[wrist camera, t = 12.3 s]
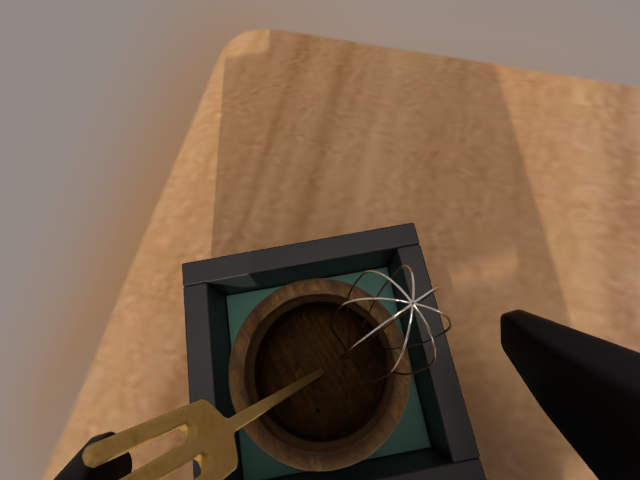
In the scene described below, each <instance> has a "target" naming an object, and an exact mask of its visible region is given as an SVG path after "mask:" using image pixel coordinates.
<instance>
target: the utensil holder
mask: <svg viewBox="0 0 640 480" xmlns="http://www.w3.org/2000/svg"><path fill="white" fill-rule="evenodd" d="M403 267H407V268H408V269H409V271H410V273H411V278H412V300H411V299H410V297H409V296H408V295H407V294H406V293H405V292H404V290H403V289H402V288H401V287H400V286H399V285H398V284H397V283H395V282H394V281H393V280H392V278H393V277H394V276H395V274H396V273H397V272H398V271H399V270H401V269H402V268H403ZM369 272H372V273H377V274H379V275H381V276H383V277H385V278H386V279H388V280H387V281H386V283H385V284H384V285H383V287H382V288H381V290H380V291H379V293H378V294H377V296H376V297H373V296H372V295H370V294H369V293H367V292H366V291H364V290H362V289H361V288H359V287H356V286H355V285H356V283H357V282H358V281H359V280H360V278H361V277H362V276H363V275H364V274H365V273H369ZM389 281H391V282H392V283H393V284H394V285H395V286H396V287H397V288H398V289H399V290H400V291H401V292H402V293H403V294H404V295H405V296H406V298H407V299H408V300H409V301H410V302H409V301H404V300H399V299H392V298H380V297H378V296H379V294H380V293H381V291H382V290H383V288H384V287H385V286H386V284H387V283H388V282H389ZM439 287H440V286H439V285H438V286H436V287H434V288H433V289H431V290H430V291H428V292H427V293H425V294H424V295H422V296H421V297H419V298H418V299H416V300H415V301H414V296H415V283H414V275H413V272H412V269H411V268H410V267H409V266H408V265H403V266H401V267H400V268H399V269H398V270H397V271H396V272H395V273H394V274H393V275H392V276H391V277H390V278H389V277H388V276H386V275H384V274H383V273H380V272H378V271H374V270H368V271H365V272H363V273H362V274H361V275H360V276H359V278H358V279H357V280H356V281H355V283H354V284H353V285H352V284H349V283H346V282H343V281H339V280H334V279H326V278H313V279H305V280H300V281H297V282H293V283H290V284H288V285H285V286H283V287H281V288H279V289H277V290H275V291H274V292H272V293H271V294H269V295H268V296H267V297H265V298H264V299H263V300H262V301H261V302H259V303H258V304H257V305H256V306H255V308H254V309H253V310H252V311H251V312H250V313H249V315H248V316H247V318H246V319H245V320H244V322H243V324H242V325H241V327H240V329H239V331H238V333H237V336H236V338H235V341H234V344H233V347H232V351H231V356H230V361H229V388H230V394H231V399H232V403H233V406H234V409H235V411H236V415H234V416H232V417H230V418H225V417H224V416H223V415H222V414H221V413H220V412H219V411H218V410H217V409H216V408H215V407H213V406H212V405H211V404H210V403H209V402H208V401H206V400H203V399H201V400H199V401H196V402H194V403H191V404H189V405H186V406H184V407H181V408H179V409H176V410H174V411H171V412H169V413H166V414H164V415H162V416H159V417H157V418H154V419H152V420H149V421H147V422H144V423H142V424H139V425H137V426H134V427H132V428H130V429H127V430H125V431H122V432H120V433H117V434H115V435H112V436H110V437H107V438H105V439H103V440H100V441H98V442H95V443H93V444H90V445H89V446H87V447H86V448H85V450H84V452H83V454H82V459H83V462H84V464H85V465H86V466H88V467H91V468H95V467H97V466H99V465H101V464H103V463H106V462H108V461H110V460H112V459H114V458H116V457H118V456H121V455H123V454H125V453H127V452H129V451H131V450H133V449H136V448H138V447H140V446H142V445H144V444H146V443H148V442H151V441H153V440H155V439H157V438H159V437H161V436H163V435H165V434H168V433H170V432H172V431H174V430H176V429H180V430H182V431H183V432H184V434H185V436H186V439H187V440H186V442H185V443H184V444H182V445H180V446H178V447H176V448H175V449H173V450H171V451H169V452H168V453H166V454H164V455H162V456H160V457H159V458H157V459H155V460H153V461H151V462H150V463H148V464H146V465H144V466H143V467H141V468H139V469H137V470H135V471H134V472H132V473H130V474H128V475H126V476H125V477H123V478H121V479H119V480H161V479H163V478H164V477H166V476H167V475H169V474H170V473H172V472H173V471H175V470H177V469H178V468H180V467H181V466H183V465H184V464H186V463H187V462H189V461H191V460H192V459H194V460H196V461H197V462H198V463H199V465H200V468H201V475H200V476H198V477H197V478H196V479H194V480H223V479H224V478H226V477H227V476H228V475H229V474H230V473H231V472H233V471H234V470H235V469H236V468H237V465H238V456H237V450H236V444H235V439H234V433H235V431H237V430H239V429H240V428H242V427H243V428H244V429H245V431H246V432H247V434H248V435H249V436H250V438H251V439H252V440H253V441H254V442H255V443H256V444H257V445H258V446H259V447H260V448H261V449H262V450H263V451H264V452H266V453H267V454H268V455H270V456H271V457H273V458H274V459H276V460H278V461H280V462H282V463H284V464H286V465H289V466H291V467H294V468H298V469H302V470H308V471H332V470H337V469H342V468H345V467H348V466H351V465H353V464H356V463H358V462H360V461H362V460H363V459H365V458H367V457H368V456H370V455H371V454H372V453H374V452H375V451H376V450H377V449H378V448H380V447H381V446H382V445H383V444H384V443H385V442H386V440H387V439H388V438H389V437H390V435H391V434H392V433H393V431H394V430H395V428H396V427H397V425H398V423H399V421H400V419H401V417H402V415H403V413H404V410H405V407H406V404H407V401H408V397H409V391H410V383H411V375H412V374H415V373H418V372H420V371H423V370H425V369H427V368H429V367H430V366H432V365H433V364H434V362H435V358H436V346H435V341H434V339H435V338H437V337H438V336H440V335H442V334H444V333H445V332H447V331H448V330H450V329H451V327H452V321H451V319H450V318H449V317H448V316H447V315H446V314H444V313H442V312H441V311H439V310H436V309H434V308H431V307H428V306H425V305H422V304H419V303H420V302H422V301H423V300H424V299H426V298H427V297H428V296H430V295H431V294H432V293H433V292H435V291H436V290H437V289H438V288H439ZM378 300H387V301H395V302H402V303H407V304H409V305H408V306H406V307H405V308H403V309H402V310H400V311H399V312H398V313H396V314H395V315H393V316H392V315H391V314H390V313H389V312H388V310H387V309H386V308H385V307H384V306H383V305H382V304H381V303H380V302H379V301H378ZM419 300H420V301H419ZM418 301H419V302H418ZM416 302H417V303H416ZM412 303H413V304H412ZM416 306H419V307H423V308H426V309H430V310H432V311H435V312H437V313H439V314H441V315H443V316H444V317H446V318H447V319H448V321H449V323H450V326H449V327H448V328H447V329H446V330H444V331H443V332H441V333H439V334H438V335H436V336H434V337H433V335H432V332H431V330H430V328H429V326H428V324H427V322H426V320H425V319H424V317H423V315H422V314H421V312H420V311H419V309H418V308H417V307H416ZM409 307H411V308H410V309H408V308H409ZM414 308H415V310H416V311H417V312H418V314H419V315H420V317H421V319H422V320H423V322H424V324H425V326H426V328H427V330H428V332H429V334H430V337H431V338H430V339H428V340H426V341H423V342H420V343H417V344H413V345H408V346H406V344H407V341H408V337H409V333H410V328H411V323H412V317H413V309H414ZM406 309H408V310H407V311H406V312H404V311H405V310H406ZM410 310H411V312H410V319H409V325H408V330H407V334H406V338H405V340H404V337H403V334H402V332H401V330H400V328H399V326H398V325H397V323H396V321H397V320H398V319H399V318H401V317H402V316H403V315H405V314H406V313H407V312H409V311H410ZM402 312H404V313H403V314H402V315H400V316H399V317H398V318H396V319H395V320H394V318H395V317H396V316H398V315H399V314H401V313H402ZM431 340H432V344H433V350H434V354H433V360H432V362H431V363H430V364H429V365H427V366H426V367H424V368H421V369H419V370H417V371H414V372H411V367H410V358H409V353H408V349H407V347H412V346H417V345H420V344H423V343H426V342H429V341H431Z"/></svg>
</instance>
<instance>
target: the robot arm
mask: <svg viewBox="0 0 640 480" xmlns="http://www.w3.org/2000/svg"><path fill="white" fill-rule="evenodd" d="M500 321H501V344H502V347H503V349H504V351H505V353H506V354H507V356H508V358H509V359H510V361H511V362H512V364H513V365H514V367H515V368H516V370H517V371H518V373H519V374H520V376H521V377H522V379H523V380H524V382H525V383H526V385H527V387H528V388H529V390H530V391H531V393H532V394H533V396H534V397H535V399H536V400H537V402H538V403H539V405H540V406H541V408H542V409H543V410H544V412H545V413H546V414H547V416H548V417H549V418H550V419H551V421H552V422H553V423H554V424H555V426H556V427H557V428H558V429H559V431H560V432H561V433H562V434H563V436H564V437H565V438H566V439H567V441H568V442H569V443H570V444H571V446H572V447H573V448H574V449H575V451H576V452H577V453H578V454H579V456H580V457H581V458H582V459H583V461H584V462H585V463H586V464H587V465H588V467H589V468H590V469H591V470H592V472H593V473H594V474H595V475H596V477H597V478H598V479H599V480H640V353H639V352H636V351H633V350H630V349H628V348H625V347H622V346H619V345H617V344H614V343H611V342H608V341H606V340H603V339H600V338H597V337H594V336H592V335H589V334H586V333H583V332H581V331H578V330H575V329H572V328H570V327H567V326H564V325H561V324H559V323H556V322H553V321H550V320H548V319H545V318H542V317H539V316H536V315H534V314H531V313H528V312H525V311H523V310H514V311H511V312H507V313H504V314H503V315H502V316H501V320H500ZM115 434H116V433H114V432H107V433H104V434H101V435H97V436H95V437H93V438H91V439H90V440H89V441H88V442H87V443H86V445H85V446H84V447H83V448H82V449H81V450H80V451H79V452H78V453H77V454H76V455H75V457H74V458H73V459H72V460H71V461H70V462H69V463H68V464H67V465H66V466H65V468H64V469H63V470H62V471H61V472H60V473H59V474H58V475H57V476H56V477H55V479H54V480H119V479H121V478H123V477H125V476H126V475H128V474H130V473H131V471H132V459H131V455H130V453H129V452H127V453H125V454H123V455H121V456H118V457H116V458H114V459H112V460H110V461H108V462H106V463H103V464H101V465H99V466H97V467H95V468H91V467H88V466H86V465H85V464H84V462H83V459H82V454H83V452H84V450H85V448H86V447H87V446H89V445H90V444H93V443H95V442H98V441H100V440H103V439H105V438H107V437H110V436H112V435H115Z"/></svg>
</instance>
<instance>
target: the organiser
mask: <svg viewBox="0 0 640 480" xmlns="http://www.w3.org/2000/svg"><path fill="white" fill-rule="evenodd" d="M403 265H408V266H409V267H410V268H411V269H412V272H413V275H414V283H415V296H414V301H415V300H416V299H418V298H419V297H421V296H422V295H424V294H425V293H427V292H428V291H430V290H431V289H432V285H431V282H430V278H429V275H428V271H427V268H426V264H425V261H424V257H423V254H422V250H421V247H420V245H419V240H418V236H417V233H416V229H415V226H414V223H408V224H402V225H397V226H391V227H386V228H380V229H374V230H369V231H363V232H358V233H352V234H346V235H341V236H335V237H329V238H324V239H318V240H313V241H307V242H301V243H296V244H290V245H285V246H279V247H273V248H268V249H262V250H257V251H251V252H245V253H240V254H234V255H229V256H223V257H217V258H212V259H206V260H201V261H195V262H189V263H184V264H182V272H183V285H184V286H185V287H184V307H185V325H186V344H187V362H188V381H189V399H190V404H191V403H194V402H196V401H199V400H201V399H203V400H206V401H208V402H209V403H210V404H211V405H212V406H213V407H215V408H216V409H217V410H218V411H219V412H220V413H221V414H222V415H223V416H224V417H225V418H230V417H232V416H234V415H236V411H235V409H234V406H233V403H232V399H231V394H230V388H229V361H230V356H231V351H232V347H233V344H234V341H235V338H236V336H237V333H238V331H239V329H240V327H241V325H242V324H243V322H244V320H245V319H246V318H247V316H248V315H249V313H250V312H251V311H252V310H253V309H254V308H255V306H256V305H257V304H258V303H259V302H261V301H262V300H263V299H264V298H265V297H267V296H268V295H269V294H271V293H272V292H274V291H275V290H277V289H279V288H281V287H283V286H285V285H288V284H290V283H293V282H297V281H300V280H305V279H313V278H326V279H334V280H339V281H343V282H346V283H349V284H352V285H353V284H354V283H355V281H356V280H357V279H358V278H359V276H360V275H361V274H362V273H363V272H365V271H368V270H374V271H378V272H380V273H383V274H384V275H386V276H388V277H389V278H390V277H391V276H392V275H393V274H394V273H395V272H396V271H397V270H398V269H399V268H400V267H401V266H403ZM387 280H388V279H386V278H385V277H383V276H381V275H379V274H377V273H372V272H369V273H365V274H364V275H363V276H362V277H361V278H360V280H359V281H358V282H357V283H356V285H355V286H356V287H359V288H361V289H362V290H364V291H366V292H367V293H369V294H370V295H372V296H373V297H376V296H377V294H378V293H379V291H380V290H381V288H382V287H383V285H384V284H385V283H386V281H387ZM392 280H393V281H394V282H395V283H397V284H398V285H399V286H400V287H401V288H402V289H403V290H404V292H405V293H406V294H407V295H408V296H409V297H410V299H411V300H412V278H411V273H410V271H409V269H408V268H407V267H403V268H402V269H401V270H399V271H398V272H397V273H396V274H395V276H394V277H393V278H392ZM378 297H380V298H392V299H399V300H404V301H409V300H408V299H407V298H406V296H405V295H404V294H403V293H402V292H401V291H400V290H399V289H398V288H397V287H396V286H395V285H394V284H393V283H392V282H391V281H389V282H388V283H387V284H386V286H385V287H384V288H383V290H382V291H381V293H380V294H379V296H378ZM378 301H379V302H380V303H381V304H382V305H383V306H384V307H385V308H386V309H387V310H388V312H389V313H390V314H391V315H392V316H393V315H395V314H396V313H398V312H399V311H400V310H402V309H403V308H405V307H406V306H408V305H409V304H407V303H402V302H395V301H387V300H378ZM419 301H420V300H419ZM419 301H418V302H419ZM409 302H410V301H409ZM416 303H417V302H416ZM412 304H413V303H412ZM419 304H422V305H425V306H428V307H431V308H434V309H436V310H438V307H437V303H436V300H435V296H434V293H432V294H431V295H430V296H428V297H427V298H426V299H424V300H423V301H422V302H420V303H419ZM416 307H417V308H418V309H419V311H420V312H421V314H422V315H423V317H424V319H425V320H426V322H427V324H428V326H429V328H430V330H431V332H432V335H433V337H434V336H436V335H438V334H439V333H441V332H443V331H444V328H443V324H442V321H441V317H440V314H439V313H437V312H435V311H432V310H430V309H426V308H423V307H419V306H416ZM410 308H411V307H409V308H408V309H410ZM408 309H406V310H405V311H404V312H406V311H407V310H408ZM404 312H402V313H401V314H399V315H398V316H396V317H395V318H394V320H395V319H396V318H398V317H399V316H400V315H402V314H403V313H404ZM410 312H411V310H410V311H409V312H407V313H406V314H405V315H403V316H402V317H401V318H399V319H398V320H397V321H396V323H397V325H398V326H399V328H400V330H401V332H402V334H403V337H404V340H405V338H406V334H407V330H408V325H409V319H410ZM430 338H431V337H430V334H429V332H428V330H427V328H426V326H425V324H424V322H423V320H422V319H421V317H420V315H419V314H418V312H417V311H416V310H415V308H414V309H413V317H412V323H411V328H410V333H409V337H408V341H407V344H406V346H408V345H413V344H417V343H420V342H423V341H426V340H428V339H430ZM434 341H435V346H436V358H435V362H434V364H433V365H432V366H430V367H429V368H427V369H425V370H423V371H420V372H418V373H415V374H412V375H411V383H410V391H409V397H408V401H407V404H406V407H405V410H404V413H403V415H402V417H401V419H400V421H399V423H398V425H397V427H396V428H395V430H394V431H393V433H392V434H391V435H390V437H389V438H388V439H387V440H386V442H385V443H384V444H383V445H382V446H381V447H380V448H378V449H377V450H376V451H375V452H374V453H372V454H371V455H370V456H368V457H367V458H365V459H363V460H362V461H360V462H358V463H356V464H353V465H351V466H348V467H345V468H342V469H337V470H332V471H308V470H302V469H298V468H294V467H291V466H289V465H286V464H284V463H282V462H280V461H278V460H276V459H274V458H273V457H271V456H270V455H268V454H267V453H266V452H264V451H263V450H262V449H261V448H260V447H259V446H258V445H257V444H256V443H255V442H254V441H253V440H252V439H251V438H250V436H249V435H248V434H247V432H246V431H245V429H244V428H243V427H242V428H240V429H239V430H237V431H235V433H234V439H235V444H236V450H237V456H238V465H237V468H236V469H235V470H234V471H233V472H231V473H230V474H229V475H228V476H227V477H226V478H224V479H223V480H486V477H485V473H484V470H483V466H482V463H481V460H480V458H478V457H479V451H478V448H477V444H476V441H475V437H474V434H473V430H472V427H471V423H470V420H469V416H468V413H467V409H466V405H465V402H464V398H463V395H462V391H461V388H460V384H459V381H458V377H457V374H456V370H455V367H454V363H453V360H452V356H451V353H450V349H449V345H448V342H447V338H446V335H445V333H444V334H442V335H440V336H438V337H437V338H435V339H434ZM407 349H408V353H409V358H410V367H411V372H414V371H417V370H419V369H421V368H424V367H426V366H427V365H429V364H430V363H431V362H432V360H433V354H434V350H433V344H432V340H431V341H429V342H426V343H423V344H420V345H417V346H412V347H407ZM193 473H194V479H196V478H197V477H198V476H200V475H201V468H200V465H199V463H198V462H197V461H196V460H194V459H193Z"/></svg>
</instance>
